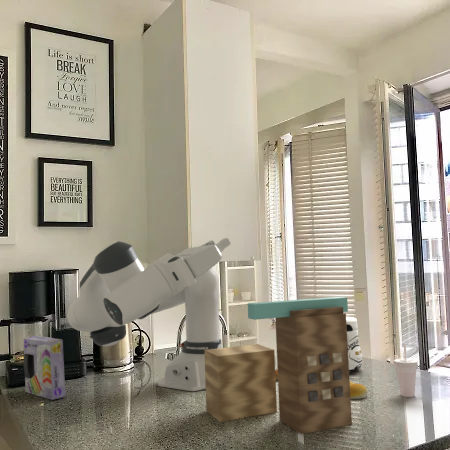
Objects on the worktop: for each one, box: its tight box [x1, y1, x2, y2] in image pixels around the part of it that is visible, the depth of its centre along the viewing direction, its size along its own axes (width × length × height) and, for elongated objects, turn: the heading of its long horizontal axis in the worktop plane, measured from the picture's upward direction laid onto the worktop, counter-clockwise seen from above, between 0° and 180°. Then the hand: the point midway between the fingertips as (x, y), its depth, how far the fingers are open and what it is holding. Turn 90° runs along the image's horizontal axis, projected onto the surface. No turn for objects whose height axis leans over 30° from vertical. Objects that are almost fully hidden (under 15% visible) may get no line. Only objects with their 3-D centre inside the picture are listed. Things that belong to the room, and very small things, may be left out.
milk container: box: [346, 316, 363, 373], centre depth 168 cm, size 17×17×18 cm
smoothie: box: [393, 344, 418, 398], centre depth 135 cm, size 6×6×14 cm
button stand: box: [274, 307, 353, 435], centre depth 115 cm, size 14×11×28 cm
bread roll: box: [350, 381, 368, 400], centre depth 137 cm, size 8×9×4 cm
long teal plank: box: [247, 296, 349, 320], centre depth 115 cm, size 26×4×4 cm, turn 112°
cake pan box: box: [23, 335, 66, 401], centre depth 149 cm, size 19×5×18 cm, turn 47°
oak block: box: [204, 343, 278, 423], centre depth 126 cm, size 16×10×16 cm, turn 112°
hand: (220, 241), depth 112 cm, fingers open, 8 cm apart
